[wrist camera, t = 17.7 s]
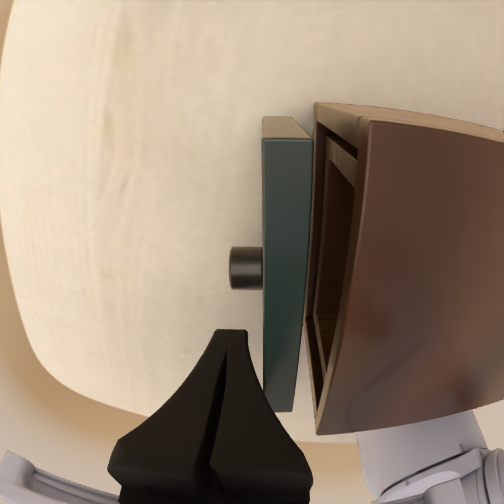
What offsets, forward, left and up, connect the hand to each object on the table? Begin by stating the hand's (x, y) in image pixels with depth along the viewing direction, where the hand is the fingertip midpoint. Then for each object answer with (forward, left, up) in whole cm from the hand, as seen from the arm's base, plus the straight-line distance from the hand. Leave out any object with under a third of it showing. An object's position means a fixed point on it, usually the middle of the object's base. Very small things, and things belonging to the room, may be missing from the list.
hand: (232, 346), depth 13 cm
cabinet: (+4, -11, -4) cm, 12 cm away
